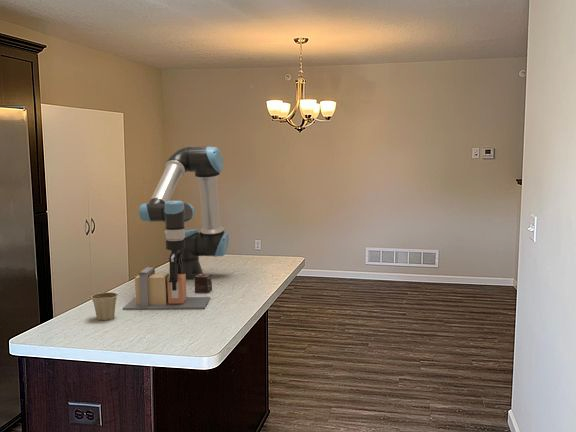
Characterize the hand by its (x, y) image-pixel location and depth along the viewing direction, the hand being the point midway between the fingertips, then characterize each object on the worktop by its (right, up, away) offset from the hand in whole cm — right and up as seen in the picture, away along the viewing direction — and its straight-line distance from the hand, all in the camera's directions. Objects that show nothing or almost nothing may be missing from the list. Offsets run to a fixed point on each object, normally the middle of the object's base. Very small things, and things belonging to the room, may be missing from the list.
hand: (177, 295), depth 224 cm
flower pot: (-23, -6, -18) cm, 30 cm away
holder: (-4, -4, 0) cm, 5 cm away
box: (+7, -1, +21) cm, 23 cm away
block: (0, -2, 0) cm, 2 cm away
